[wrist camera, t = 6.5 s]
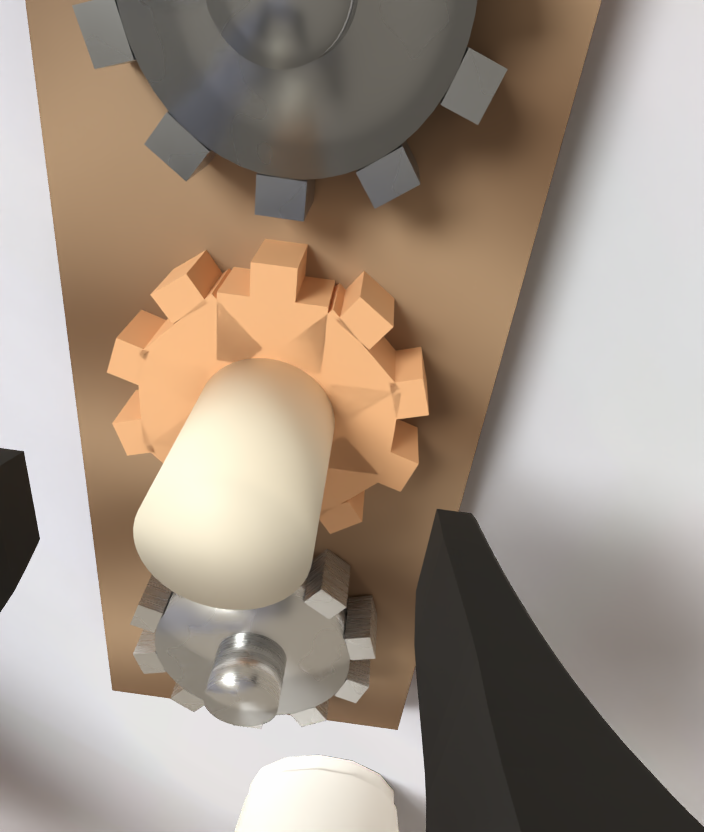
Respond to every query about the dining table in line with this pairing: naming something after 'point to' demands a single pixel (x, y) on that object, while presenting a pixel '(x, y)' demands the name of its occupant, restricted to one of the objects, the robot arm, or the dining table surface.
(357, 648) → the gear
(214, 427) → the loose gear
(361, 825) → the foam cup
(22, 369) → the dining table surface
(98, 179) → the gear board
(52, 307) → the dining table surface
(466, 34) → the gear
